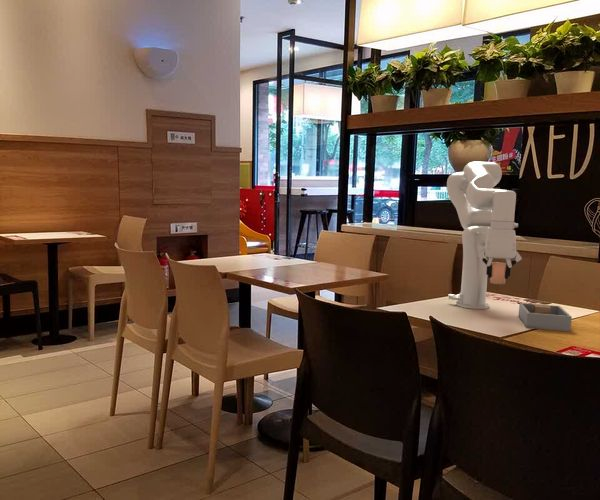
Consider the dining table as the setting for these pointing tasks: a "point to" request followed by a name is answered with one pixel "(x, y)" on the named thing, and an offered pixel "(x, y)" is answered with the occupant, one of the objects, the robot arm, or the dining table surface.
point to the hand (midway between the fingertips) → (497, 277)
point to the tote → (545, 318)
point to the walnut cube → (541, 309)
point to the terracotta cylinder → (498, 273)
